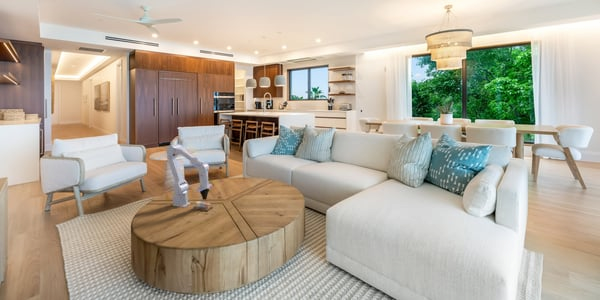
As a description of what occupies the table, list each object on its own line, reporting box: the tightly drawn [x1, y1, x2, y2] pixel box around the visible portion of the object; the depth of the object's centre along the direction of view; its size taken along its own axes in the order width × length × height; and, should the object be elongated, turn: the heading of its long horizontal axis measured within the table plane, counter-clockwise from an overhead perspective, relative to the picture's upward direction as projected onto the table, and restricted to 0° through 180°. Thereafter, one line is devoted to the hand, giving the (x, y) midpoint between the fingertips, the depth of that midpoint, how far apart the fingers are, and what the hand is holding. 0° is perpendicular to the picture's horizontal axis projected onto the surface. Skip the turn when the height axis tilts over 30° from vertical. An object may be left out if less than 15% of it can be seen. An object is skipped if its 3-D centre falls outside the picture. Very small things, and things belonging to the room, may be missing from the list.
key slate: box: [200, 201, 207, 208], centre depth 207 cm, size 3×3×3 cm
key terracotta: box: [205, 202, 212, 209], centre depth 206 cm, size 3×3×3 cm
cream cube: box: [195, 200, 203, 207], centre depth 208 cm, size 3×3×3 cm
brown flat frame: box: [193, 205, 214, 212], centre depth 207 cm, size 12×7×1 cm, turn 72°
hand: (204, 199), depth 208 cm, fingers closed
